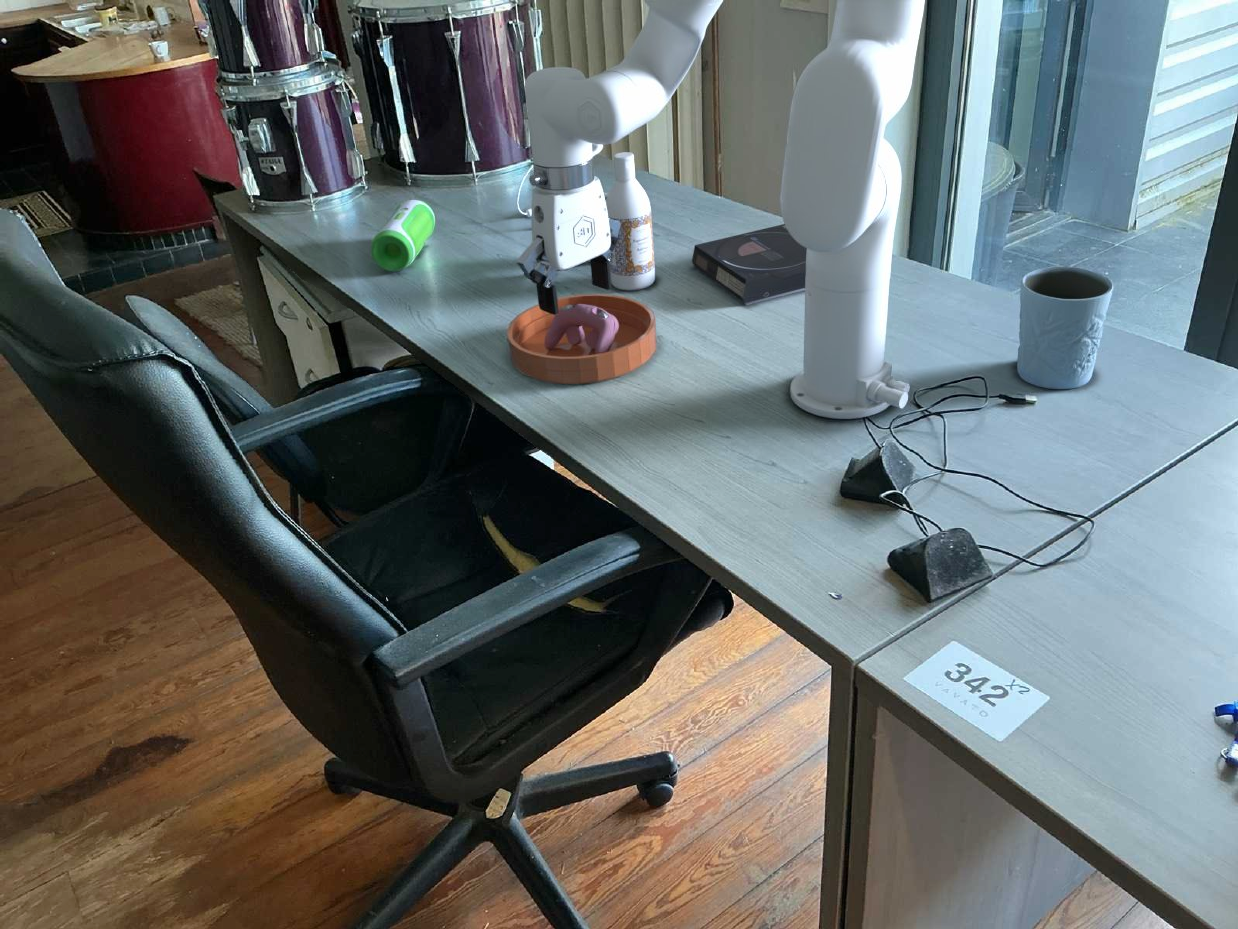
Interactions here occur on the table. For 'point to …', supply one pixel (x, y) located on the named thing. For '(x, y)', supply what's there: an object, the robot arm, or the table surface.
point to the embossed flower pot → (1061, 325)
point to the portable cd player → (754, 264)
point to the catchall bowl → (579, 359)
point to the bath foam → (630, 228)
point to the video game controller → (572, 323)
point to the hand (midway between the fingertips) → (576, 299)
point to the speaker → (403, 235)
